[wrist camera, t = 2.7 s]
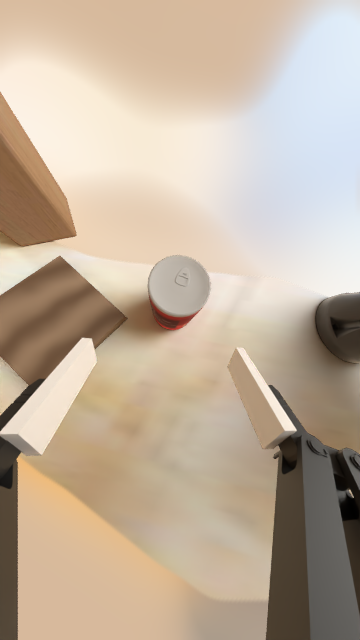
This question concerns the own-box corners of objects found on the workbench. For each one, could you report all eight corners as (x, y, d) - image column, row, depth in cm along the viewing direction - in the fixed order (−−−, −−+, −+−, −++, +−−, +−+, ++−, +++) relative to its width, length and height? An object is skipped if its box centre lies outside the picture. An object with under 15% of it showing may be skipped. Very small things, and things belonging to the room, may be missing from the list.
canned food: (192, 293, 28) (211, 258, 18) (191, 331, 26) (211, 318, 16) (155, 289, 27) (150, 250, 17) (151, 329, 25) (143, 313, 15)
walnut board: (127, 318, 25) (124, 315, 23) (49, 391, 21) (38, 395, 19) (67, 262, 26) (59, 255, 24) (-19, 322, 22) (-36, 319, 20)
